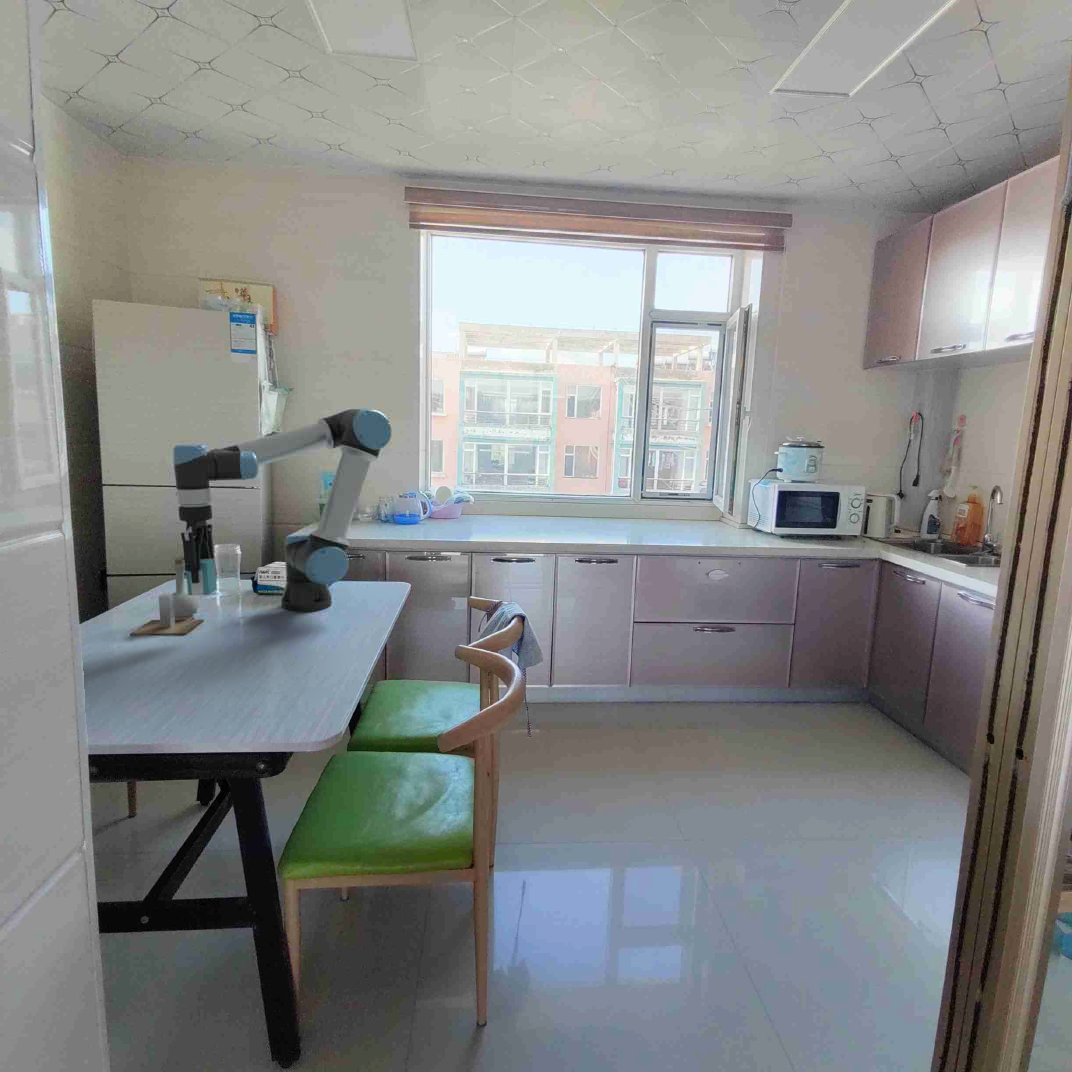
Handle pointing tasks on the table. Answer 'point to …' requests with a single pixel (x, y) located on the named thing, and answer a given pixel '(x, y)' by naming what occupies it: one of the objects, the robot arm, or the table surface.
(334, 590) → the table surface
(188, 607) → the potion bottle
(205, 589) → the teal boxy block
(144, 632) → the board
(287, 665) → the table surface
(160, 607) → the post
